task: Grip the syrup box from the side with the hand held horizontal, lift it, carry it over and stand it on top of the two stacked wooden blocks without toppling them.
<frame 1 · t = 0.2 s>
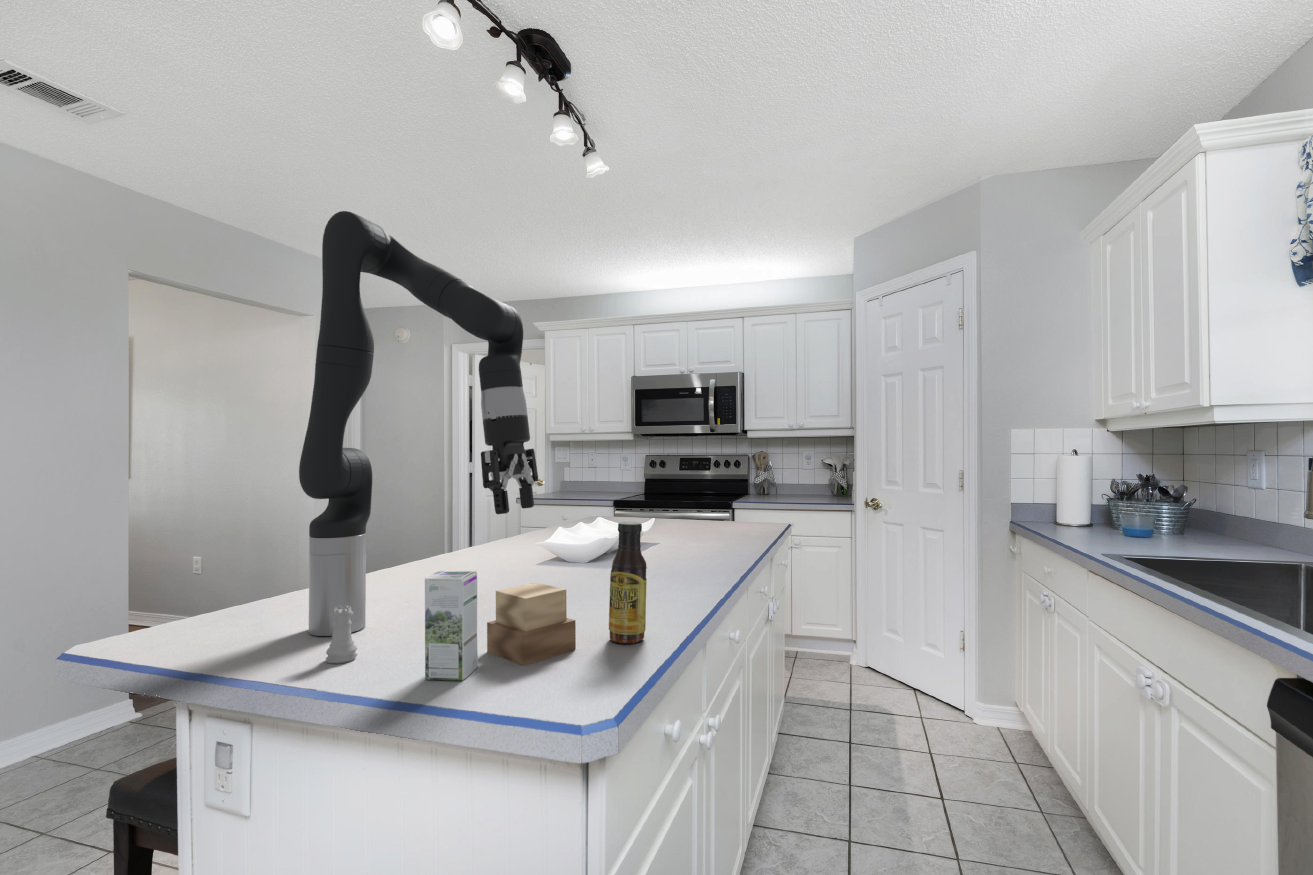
hand: (515, 510, 103), 22 cm above the countertop, tool pointing down, fingers open, 8 cm apart
syrup box: (451, 675, 88), on the countertop
lower block: (531, 652, 98), on the countertop, touching upper block
upper block: (531, 621, 98), point 5 cm above the countertop, touching lower block
rook chess piece: (341, 660, 95), on the countertop
sauce bottle: (628, 640, 103), on the countertop
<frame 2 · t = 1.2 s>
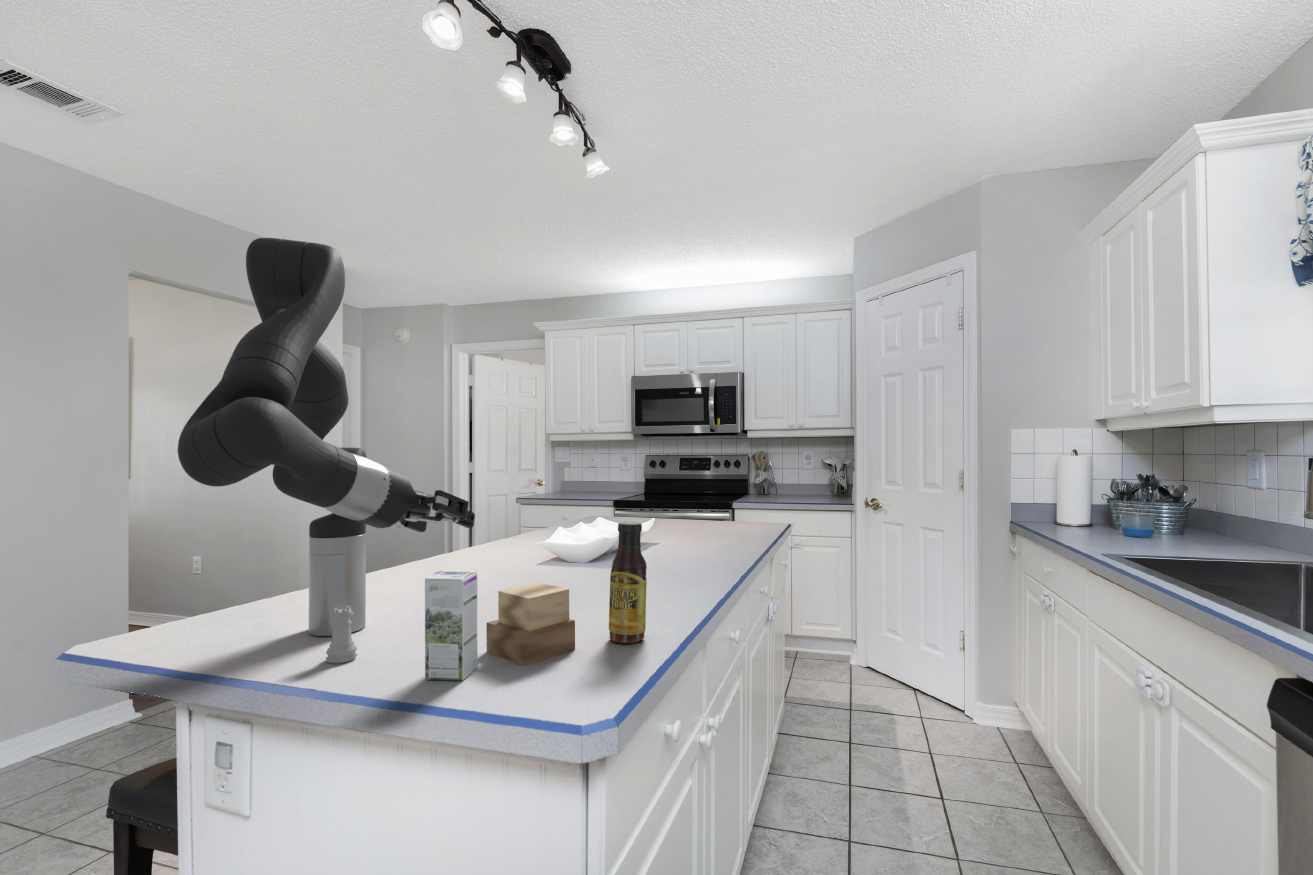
hand: (447, 523, 89), 22 cm above the countertop, tool tilted 70°, fingers open, 8 cm apart
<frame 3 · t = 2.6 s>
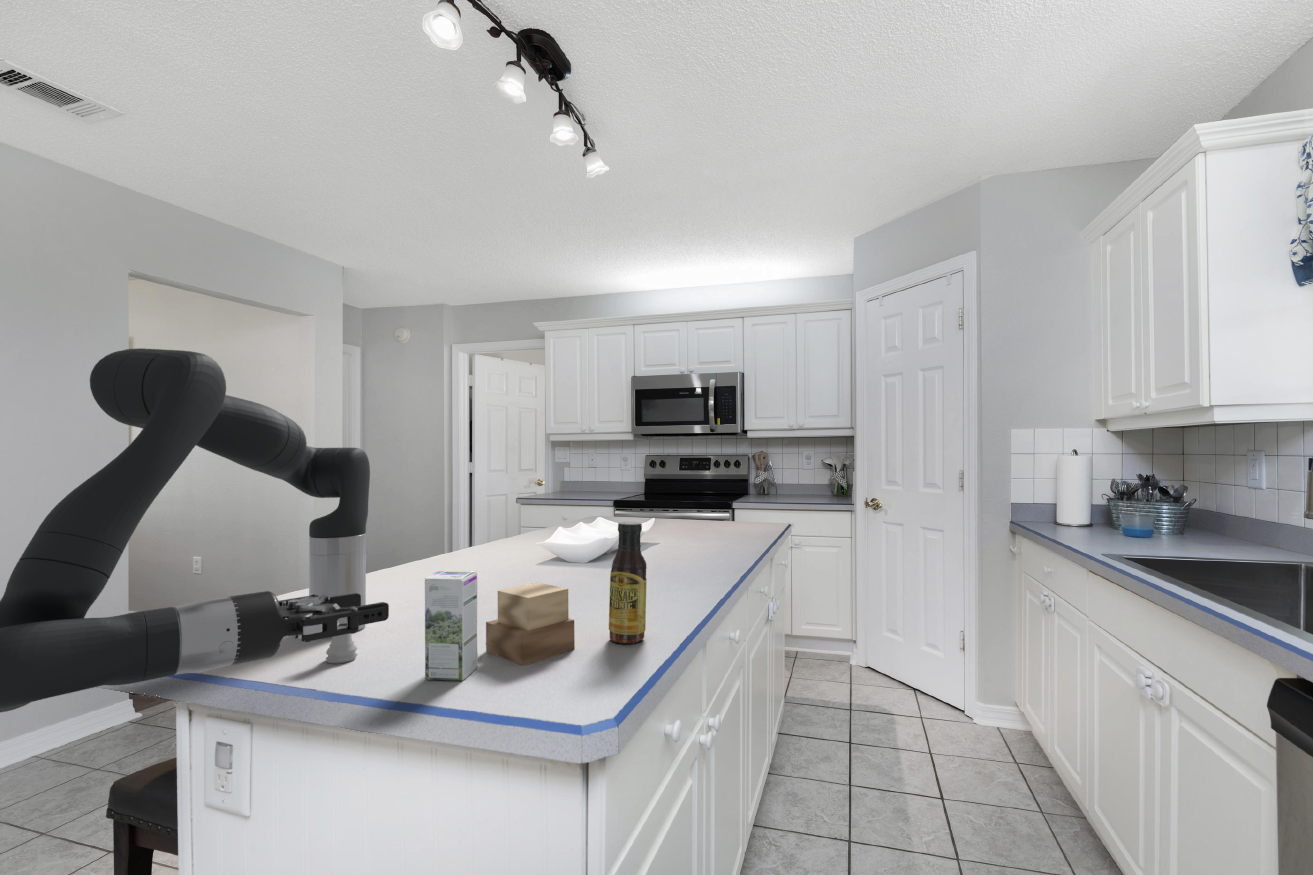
hand: (373, 605, 80), 12 cm above the countertop, tool horizontal, fingers open, 8 cm apart
nothing on the countertop moved.
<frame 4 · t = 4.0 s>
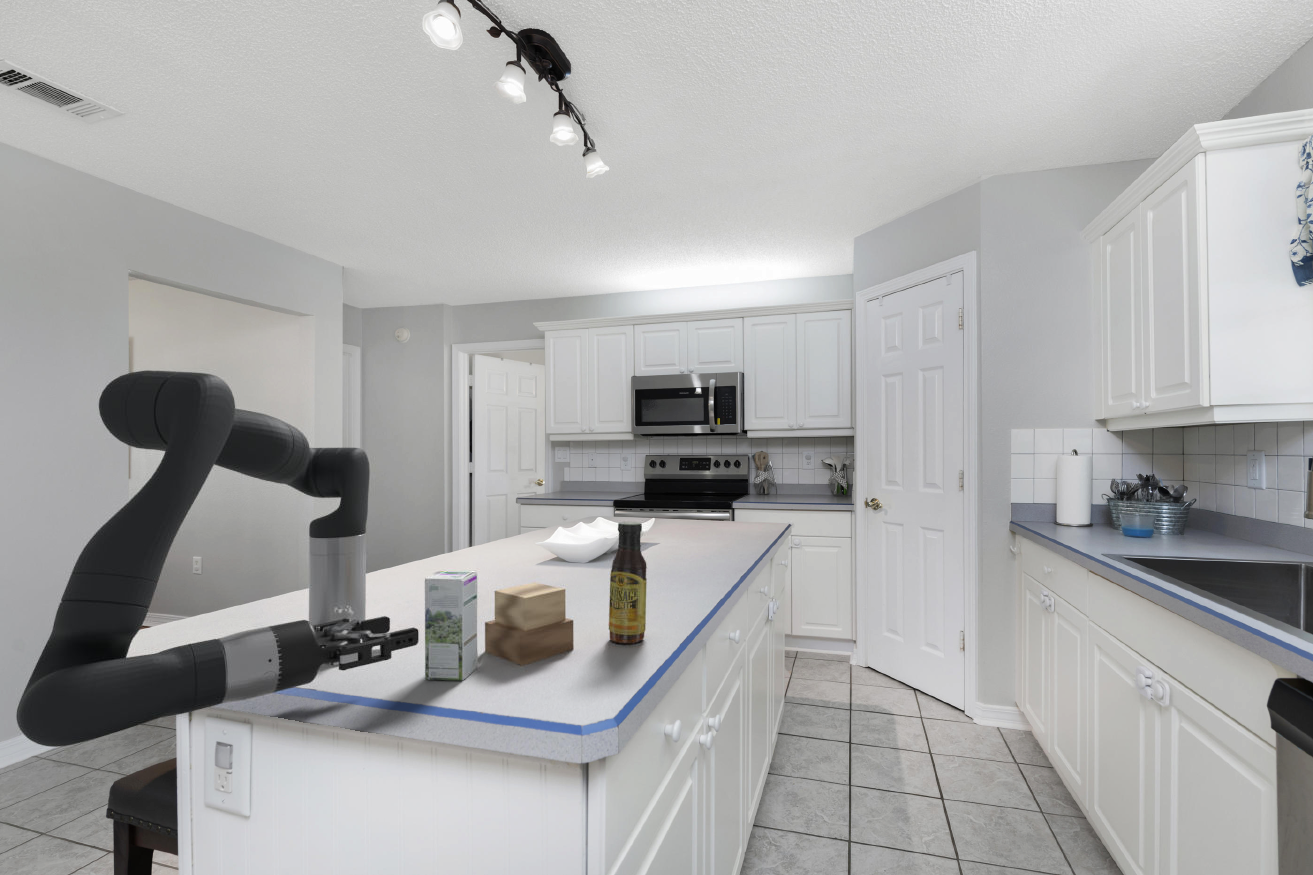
hand: (402, 629, 83), 8 cm above the countertop, tool horizontal, fingers open, 8 cm apart
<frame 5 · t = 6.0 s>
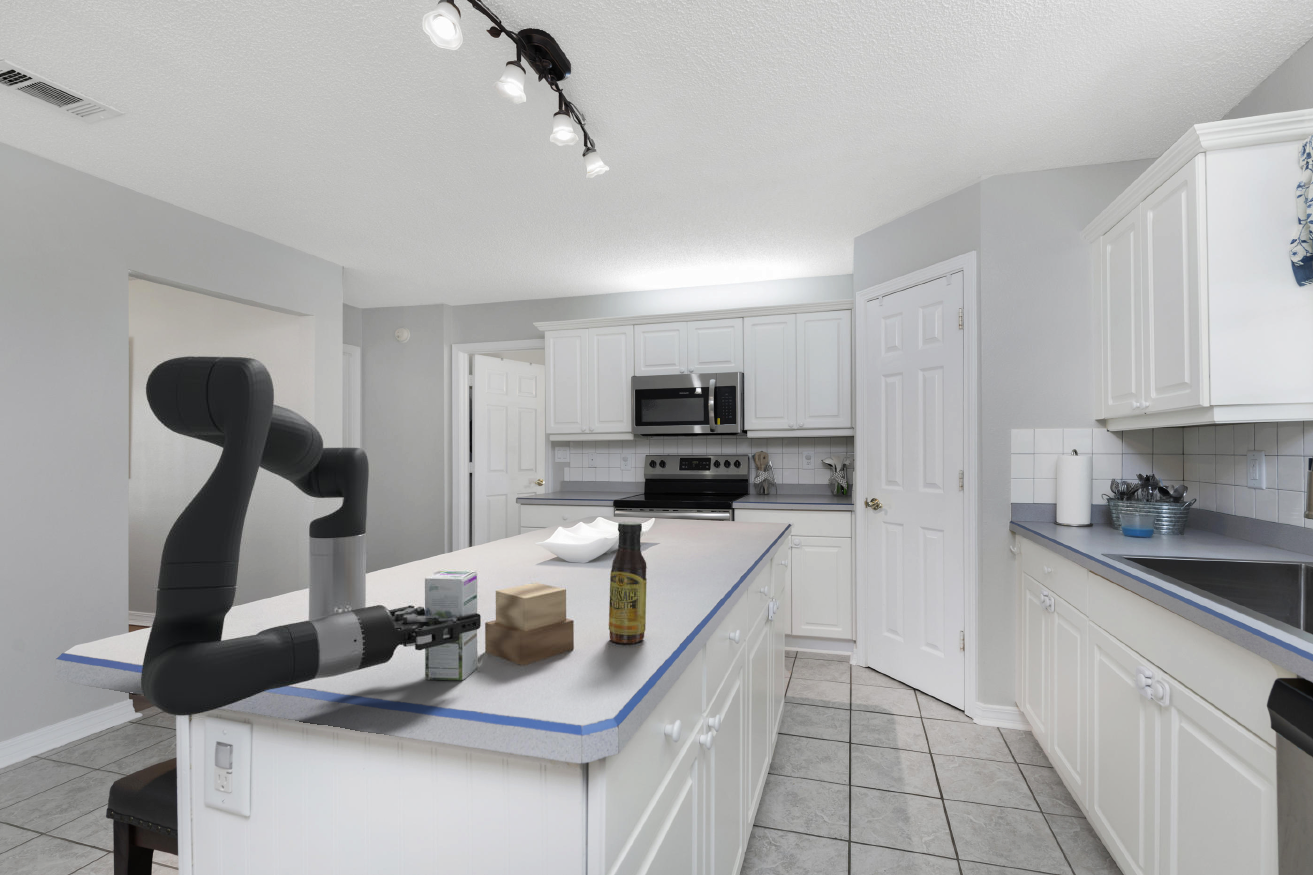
hand: (463, 615, 90), 8 cm above the countertop, tool horizontal, fingers closed on syrup box, 8 cm apart
syrup box: (452, 675, 88), on the countertop, touching gripper
lower block: (529, 652, 98), on the countertop
upper block: (531, 621, 98), point 5 cm above the countertop
everything else where it was.
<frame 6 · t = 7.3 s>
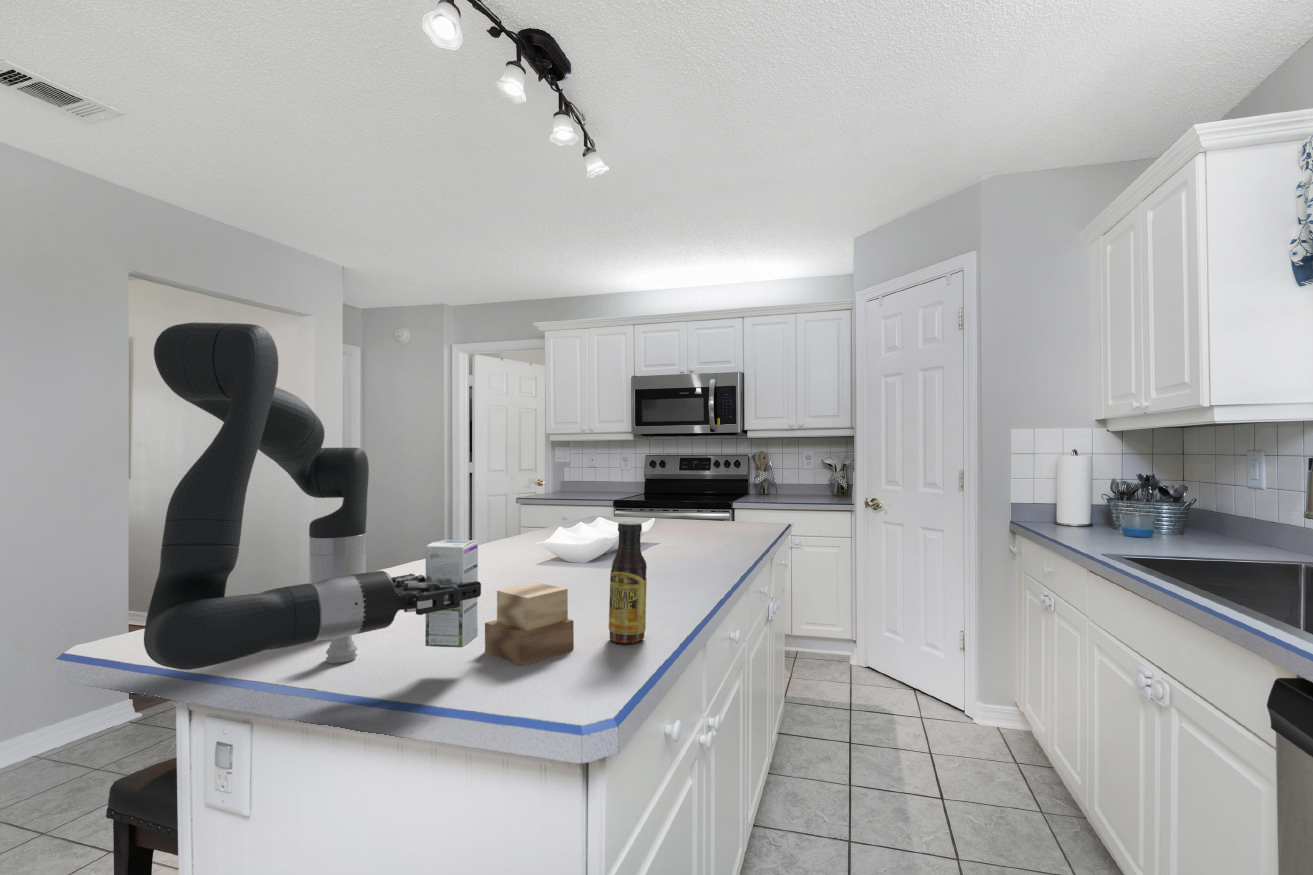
hand: (464, 583, 90), 13 cm above the countertop, tool horizontal, fingers closed on syrup box, 8 cm apart
syrup box: (452, 643, 88), point 4 cm above the countertop, touching gripper
everything else where it was.
when the fingers open (19 cm above the countertop, at t = 11.8 s): syrup box drops 2 cm, resting on upper block.
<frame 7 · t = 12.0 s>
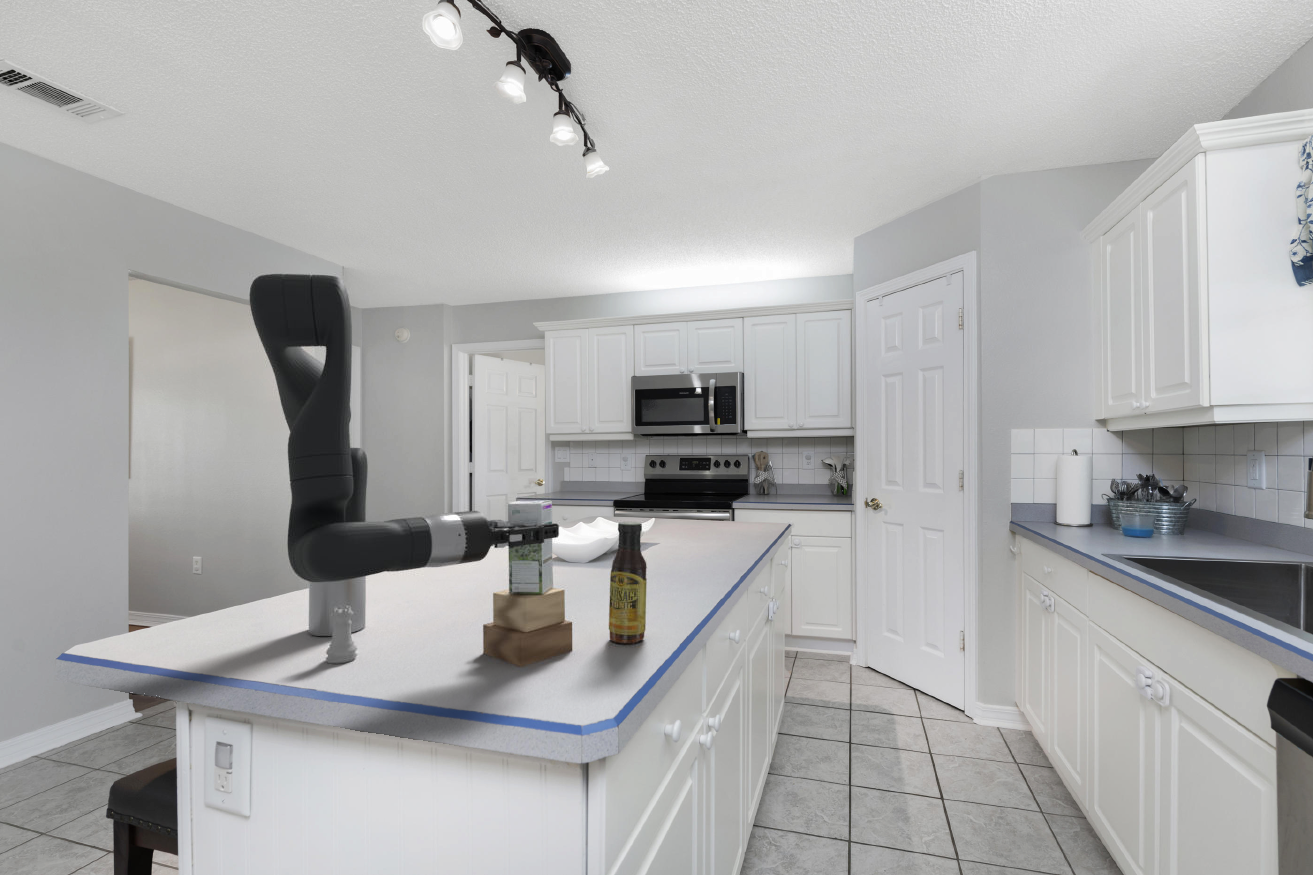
hand: (541, 528, 100), 19 cm above the countertop, tool horizontal, fingers open, 8 cm apart
syrup box: (531, 592, 98), point 9 cm above the countertop, touching gripper, upper block
upper block: (529, 622, 98), point 5 cm above the countertop, touching syrup box
everything else where it was.
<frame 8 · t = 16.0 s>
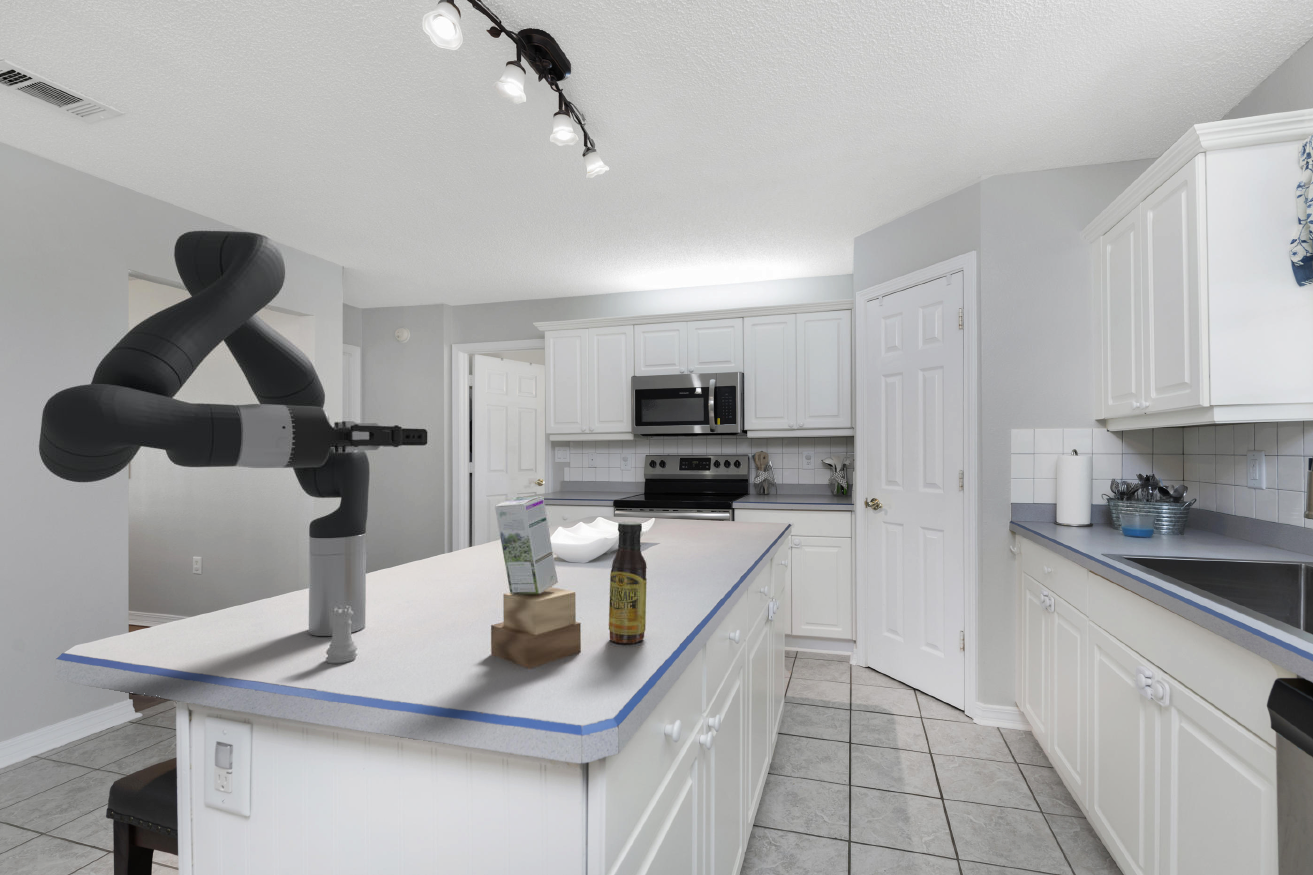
hand: (411, 438, 84), 34 cm above the countertop, tool horizontal, fingers open, 8 cm apart
syrup box: (534, 590, 97), point 10 cm above the countertop, touching upper block
lower block: (536, 655, 97), on the countertop, touching upper block
upper block: (539, 624, 97), point 5 cm above the countertop, touching lower block, syrup box
everything else where it was.
at the end: syrup box 0.8 cm off-centre on the upper block, point 5.2 cm above the upper block's base; syrup box tilted 7°; upper block 0.8 cm off-centre on the lower block, point 5.0 cm above the lower block's base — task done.
